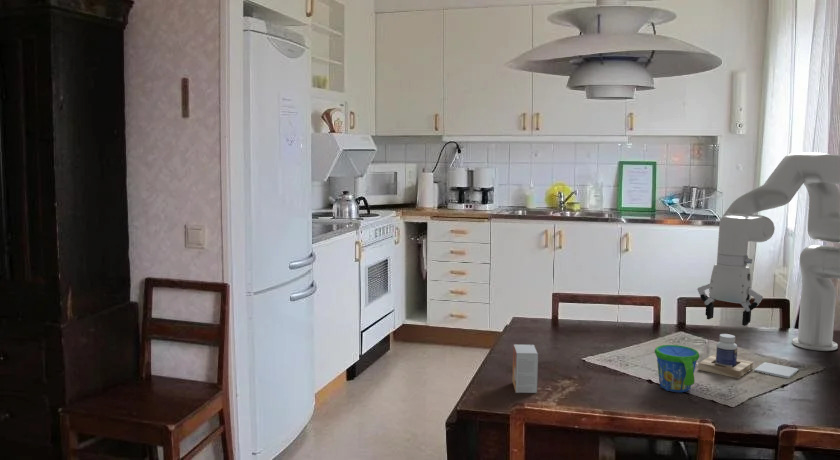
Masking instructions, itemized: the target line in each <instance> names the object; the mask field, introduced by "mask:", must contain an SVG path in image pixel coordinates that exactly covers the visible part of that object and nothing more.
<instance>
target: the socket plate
mask: <svg viewBox="0 0 840 460" xmlns="http://www.w3.org/2000/svg"><path fill="white" fill-rule="evenodd" d="M752 368H754V361H749V360H744V359H739V358H737V362H736V366H735V367H729V366H725V365H720V364H716V353H715V354H711V355H710V356H708V357H706V358H705V359H703V360H701V361H699V362H698V371H703V372H707V373H712V374H717V375H721V376H726V377H731V378H734V379H740V378H742V377H744V376H745V375H747V374H748V373H749V372H750V371H749V370H751V369H752ZM752 370H753V369H752ZM752 370H751V371H752ZM748 371H749V372H748ZM747 372H748V373H747ZM744 374H745V375H744ZM741 376H742V377H741Z"/></svg>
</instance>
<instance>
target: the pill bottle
mask: <svg viewBox="0 0 840 460" xmlns="http://www.w3.org/2000/svg"><path fill="white" fill-rule="evenodd" d="M735 342H736V336H735V335H734V334H728V333H720V334H719V341H718V342H717V343H716V349H715V355H716V364H720V365H725V366H729V367H735V366H736V362H737V359H738V344H737V343H735Z"/></svg>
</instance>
